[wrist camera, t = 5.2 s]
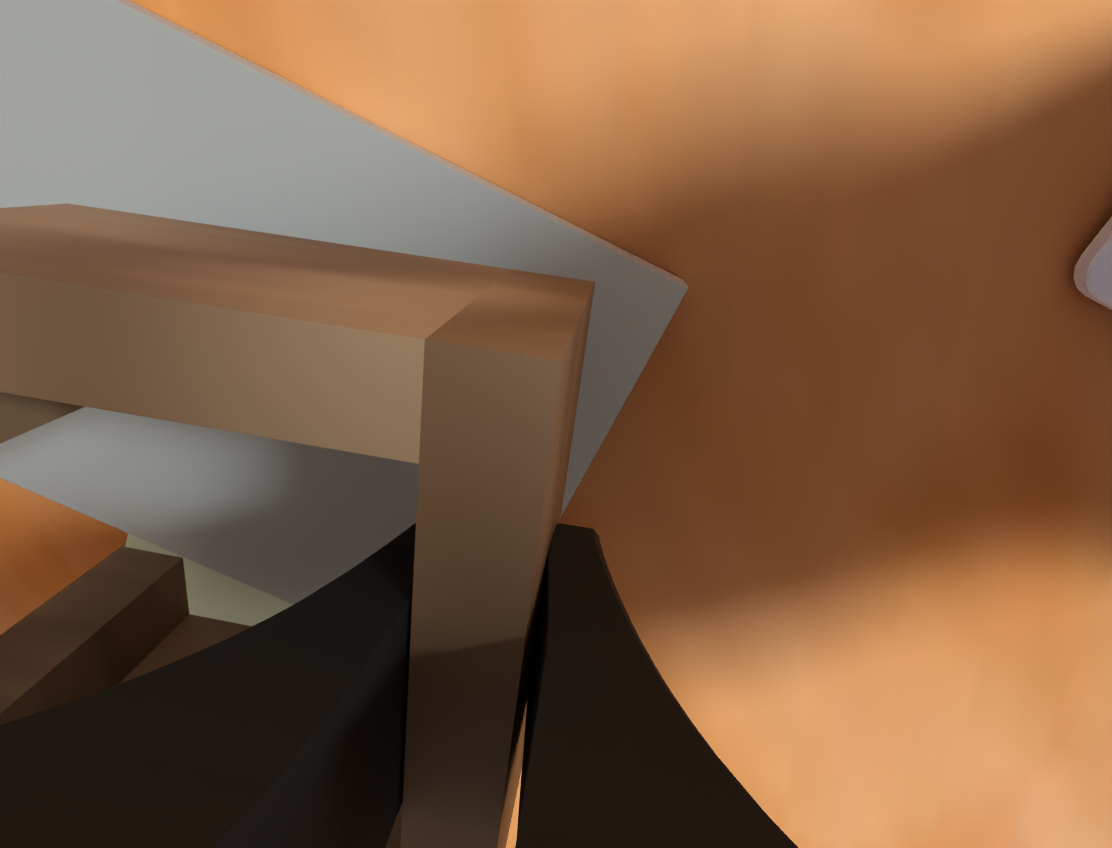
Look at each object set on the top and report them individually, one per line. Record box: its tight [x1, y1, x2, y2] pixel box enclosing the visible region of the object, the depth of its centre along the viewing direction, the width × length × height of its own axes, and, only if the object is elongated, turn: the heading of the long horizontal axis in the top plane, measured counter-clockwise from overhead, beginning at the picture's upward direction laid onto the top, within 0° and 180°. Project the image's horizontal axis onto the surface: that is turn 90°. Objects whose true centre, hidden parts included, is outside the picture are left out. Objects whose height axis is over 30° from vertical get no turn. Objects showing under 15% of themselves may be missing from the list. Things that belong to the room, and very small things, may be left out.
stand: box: [0, 0, 688, 605], centre depth 11 cm, size 15×10×4 cm, turn 65°
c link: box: [0, 203, 595, 848], centre depth 9 cm, size 8×9×4 cm
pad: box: [125, 533, 293, 626], centre depth 17 cm, size 10×11×1 cm
